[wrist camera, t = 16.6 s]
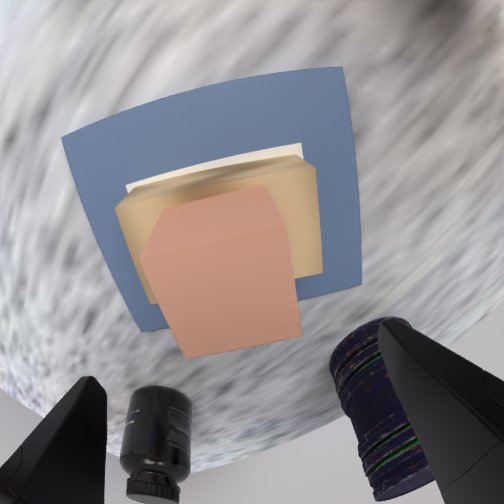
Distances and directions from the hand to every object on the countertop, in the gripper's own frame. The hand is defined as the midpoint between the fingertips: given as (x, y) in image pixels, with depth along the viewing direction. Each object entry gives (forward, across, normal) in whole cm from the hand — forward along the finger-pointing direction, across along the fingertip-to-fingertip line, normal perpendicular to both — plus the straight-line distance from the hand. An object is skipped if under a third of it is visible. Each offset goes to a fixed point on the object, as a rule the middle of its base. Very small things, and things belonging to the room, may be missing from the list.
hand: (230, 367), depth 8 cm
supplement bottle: (+13, +12, +19) cm, 26 cm away
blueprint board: (+13, 0, 0) cm, 13 cm away
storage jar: (+13, -11, +18) cm, 25 cm away
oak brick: (+12, 0, 0) cm, 12 cm away
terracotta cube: (+8, 0, 0) cm, 8 cm away
